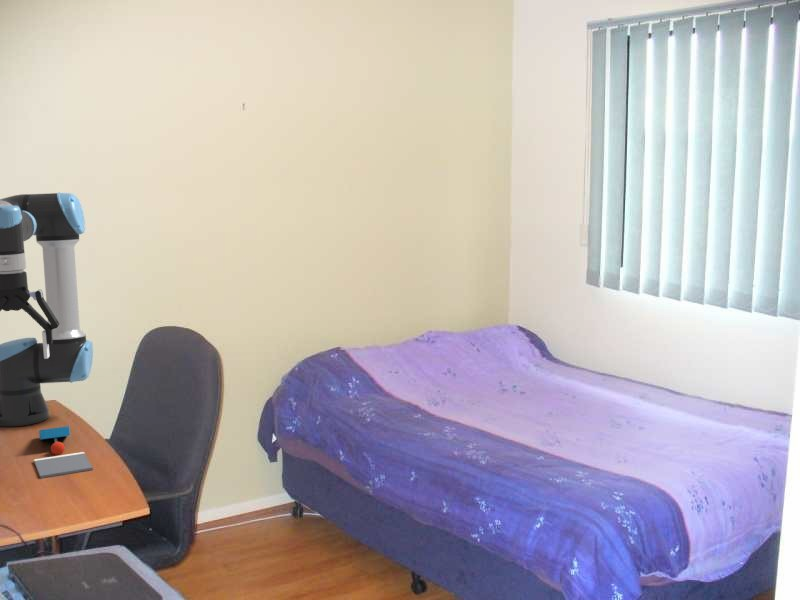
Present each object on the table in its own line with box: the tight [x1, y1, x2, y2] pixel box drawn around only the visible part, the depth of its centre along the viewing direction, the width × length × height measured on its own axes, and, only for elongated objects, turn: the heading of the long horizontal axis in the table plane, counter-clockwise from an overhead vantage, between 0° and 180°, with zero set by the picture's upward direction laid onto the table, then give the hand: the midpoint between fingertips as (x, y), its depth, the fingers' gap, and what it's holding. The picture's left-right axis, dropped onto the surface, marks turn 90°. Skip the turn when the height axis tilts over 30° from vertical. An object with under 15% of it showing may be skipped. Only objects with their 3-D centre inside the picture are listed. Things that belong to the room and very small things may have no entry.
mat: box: [33, 451, 94, 479], centre depth 241 cm, size 14×12×1 cm
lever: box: [38, 425, 71, 456], centre depth 258 cm, size 7×7×18 cm
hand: (17, 359), depth 236 cm, fingers open, 13 cm apart
